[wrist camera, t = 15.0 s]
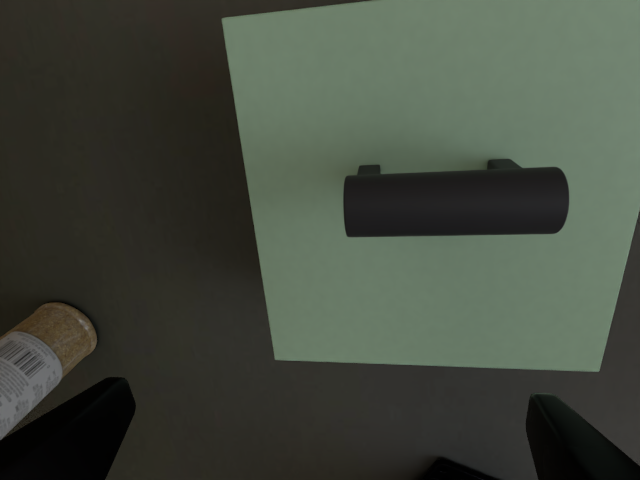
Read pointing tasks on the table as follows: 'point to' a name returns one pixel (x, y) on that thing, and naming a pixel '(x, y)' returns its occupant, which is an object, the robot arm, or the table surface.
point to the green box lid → (441, 177)
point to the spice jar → (40, 358)
